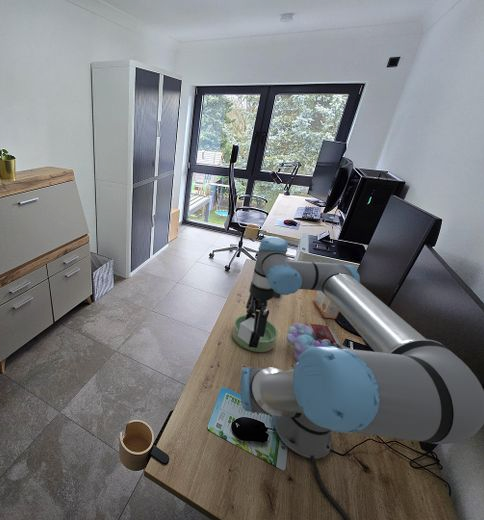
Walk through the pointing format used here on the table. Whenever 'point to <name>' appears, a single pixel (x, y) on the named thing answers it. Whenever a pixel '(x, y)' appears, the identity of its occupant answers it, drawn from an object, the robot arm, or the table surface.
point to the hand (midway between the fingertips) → (249, 337)
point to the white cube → (246, 330)
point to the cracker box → (325, 306)
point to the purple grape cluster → (311, 337)
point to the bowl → (263, 345)
